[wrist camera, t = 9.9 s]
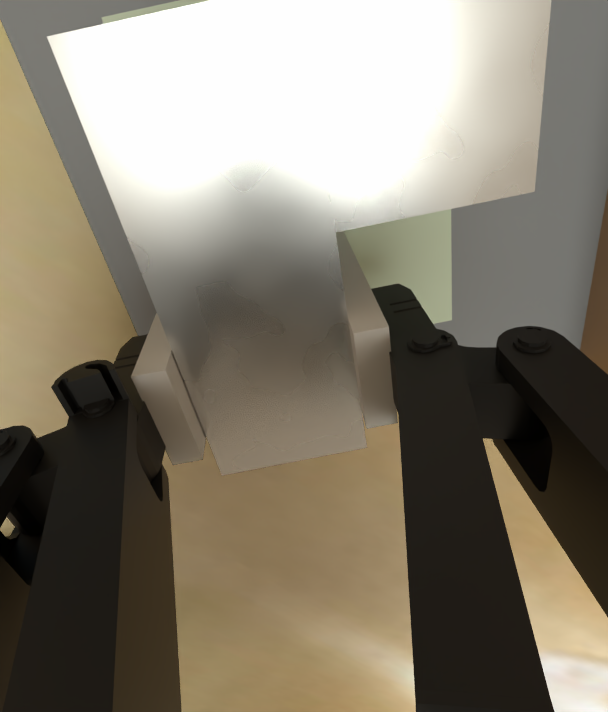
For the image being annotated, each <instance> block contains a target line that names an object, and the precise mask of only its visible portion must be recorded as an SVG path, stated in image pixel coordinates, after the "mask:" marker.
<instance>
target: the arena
mask: <svg viewBox="0 0 608 712" xmlns="http://www.w3.org/2000/svg"><path fill="white" fill-rule="evenodd" d="M206 1H211V0H0V20H1V22H2V24H3V27H4V29H5V31H6V33H7V36H8V38H9V40H10V43H11V45H12V47H13V50H14V52H15V54H16V56H17V59H18V61H19V63H20V66H21V68H22V70H23V72H24V75H25V77H26V79H27V82H28V84H29V86H30V89H31V91H32V93H33V95H34V98H35V100H36V102H37V105H38V107H39V109H40V112H41V114H42V116H43V118H44V121H45V123H46V125H47V128H48V130H49V132H50V135H51V137H52V139H53V141H54V144H55V146H56V148H57V151H58V153H59V155H60V158H61V160H62V162H63V164H64V167H65V169H66V171H67V174H68V176H69V178H70V180H71V183H72V185H73V187H74V190H75V192H76V194H77V197H78V199H79V201H80V203H81V206H82V208H83V210H84V213H85V215H86V217H87V220H88V222H89V224H90V226H91V229H92V231H93V233H94V236H95V238H96V240H97V243H98V245H99V247H100V249H101V252H102V254H103V256H104V259H105V261H106V263H107V266H108V268H109V270H110V272H111V275H112V277H113V279H114V282H115V284H116V286H117V288H118V291H119V293H120V295H121V298H122V300H123V302H124V305H125V307H126V309H127V311H128V314H129V316H130V318H131V321H132V323H133V325H134V328H135V330H136V332H137V334H138V336H142V335H147V334H148V333H149V330H150V328H151V325H152V323H153V320H154V318H155V315H156V313H157V312H156V309H155V307H154V304H153V302H152V299H151V297H150V294H149V292H148V289H147V287H146V284H145V282H144V279H143V277H142V274H141V272H140V269H139V267H138V264H137V262H136V259H135V257H134V254H133V252H132V249H131V247H130V244H129V241H128V239H127V236H126V234H125V231H124V229H123V226H122V224H121V221H120V219H119V216H118V214H117V211H116V209H115V206H114V204H113V201H112V199H111V196H110V194H109V191H108V189H107V186H106V184H105V181H104V179H103V176H102V174H101V171H100V169H99V166H98V164H97V161H96V159H95V156H94V154H93V151H92V149H91V146H90V144H89V141H88V139H87V136H86V134H85V131H84V129H83V126H82V124H81V121H80V119H79V116H78V114H77V111H76V109H75V106H74V104H73V101H72V99H71V96H70V93H69V91H68V88H67V86H66V83H65V81H64V78H63V76H62V73H61V71H60V68H59V66H58V63H57V61H56V58H55V56H54V53H53V51H52V48H51V46H50V43H49V41H48V38H47V36H52V35H56V34H61V33H65V32H70V31H74V30H79V29H84V28H88V27H93V26H97V25H102V24H106V23H111V22H115V21H120V20H124V19H129V18H134V17H138V16H143V15H147V14H152V13H156V12H161V11H165V10H170V9H174V8H179V7H184V6H188V5H193V4H197V3H202V2H206ZM344 233H345V235H346V237H347V240H348V242H349V244H350V246H351V248H352V250H353V252H354V254H355V256H356V258H357V261H358V263H359V265H360V267H361V269H362V271H363V273H364V275H365V277H366V280H367V282H368V284H369V286H370V288H371V289H373V288H378V287H383V286H388V285H393V284H398V283H399V284H401V285H403V286H405V287H407V288H409V289H411V290H412V292H413V293H414V295H415V296H416V298H417V300H418V301H419V303H420V304H421V306H422V308H423V309H424V310H425V312H426V314H427V315H428V317H429V318H430V320H431V321H432V323H433V324H434V326H435V328H436V329H440V330H444V331H446V332H448V333H450V334H452V335H453V336H454V337H455V339H456V340H457V343H458V345H461V346H466V347H496V344H497V340H498V337H499V336H500V335H501V334H502V333H503V332H505V331H506V330H509V329H512V328H515V327H523V326H538V327H543V328H547V329H550V330H554V331H556V332H557V333H559V334H561V335H562V336H564V337H565V338H566V339H567V340H569V341H570V342H571V343H572V344H573V345H574V346H575V347H577V348H578V349H579V350H580V351H581V352H582V353H584V354H585V355H586V356H587V357H588V358H589V359H591V360H592V361H593V362H594V363H595V364H596V365H597V366H599V367H600V368H601V369H602V370H603V371H604V372H606V373H607V374H608V0H551V11H550V23H549V34H548V45H547V57H546V68H545V80H544V91H543V102H542V114H541V125H540V136H539V148H538V159H537V171H536V182H535V192H531V193H526V194H521V195H516V196H512V197H507V198H502V199H497V200H492V201H487V202H482V203H477V204H473V205H468V206H463V207H458V208H453V209H448V210H443V211H438V212H434V213H429V214H424V215H419V216H414V217H409V218H404V219H400V220H395V221H390V222H385V223H380V224H375V225H370V226H365V227H361V228H356V229H351V230H346V231H344Z"/></svg>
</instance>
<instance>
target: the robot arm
mask: <svg viewBox="0 0 608 712" xmlns="http://www.w3.org/2000/svg"><path fill="white" fill-rule="evenodd" d="M336 239H337V246H338V253H339V260H340V266H341V273H342V280H343V287H344V294H345V301H346V307H347V314H348V322H349V329H350V336H351V343H352V350H353V357H354V364H355V371H356V378H357V384H358V391H359V398H360V405H361V411H362V414H363V418H364V421H365V425H366V428H367V429H368V428H373V427H378V426H384V425H389V424H394V423H398V422H397V411H398V414H399V429H400V446H401V462H402V479H403V496H404V513H405V530H406V546H407V563H408V580H409V597H410V614H411V630H412V647H413V664H414V681H415V698H416V712H554V709H553V706H552V702H551V699H550V695H549V691H548V688H547V684H546V680H545V676H544V672H543V668H542V665H541V661H540V657H539V653H538V649H537V645H536V642H535V638H534V634H533V630H532V626H531V622H530V619H529V615H528V611H527V607H526V603H525V599H524V596H523V592H522V588H521V584H520V580H519V576H518V573H517V569H516V565H515V561H514V557H513V553H512V550H511V546H510V542H509V538H508V534H507V530H506V527H505V523H504V519H503V515H502V511H501V507H500V504H499V500H498V496H497V492H496V488H495V484H494V481H493V477H492V473H491V469H490V465H489V461H488V458H487V454H486V450H485V446H484V442H483V438H489V439H493V442H494V444H495V446H496V447H497V449H498V450H499V452H500V453H501V455H502V456H503V458H504V459H505V461H506V462H507V464H508V465H509V467H510V469H511V470H512V472H513V473H514V475H515V476H516V478H517V479H518V481H519V482H520V484H521V485H522V487H523V488H524V490H525V491H526V493H527V495H528V496H529V498H530V499H531V501H532V502H533V504H534V505H535V507H536V508H537V510H538V511H539V513H540V514H541V516H542V517H543V519H544V520H545V522H546V524H547V525H548V527H549V528H550V530H551V531H552V533H553V534H554V536H555V537H556V539H557V540H558V542H559V543H560V545H561V546H562V548H563V549H564V551H565V553H566V554H567V556H568V557H569V559H570V560H571V562H572V563H573V565H574V566H575V568H576V569H577V571H578V572H579V574H580V575H581V577H582V578H583V580H584V582H585V583H586V585H587V586H588V588H589V589H590V591H591V592H592V594H593V595H594V597H595V598H596V600H597V601H598V603H599V604H600V606H601V608H602V609H603V611H604V612H605V614H606V615H607V617H608V374H607V373H606V372H604V371H603V370H602V369H601V368H600V367H599V366H597V365H596V364H595V363H594V362H593V361H592V360H591V359H589V358H588V357H587V356H586V355H585V354H584V353H582V352H581V351H580V350H579V349H578V348H577V347H575V346H574V345H573V344H572V343H571V342H570V341H569V340H567V339H566V338H565V337H564V336H562V335H561V334H559V333H557V332H556V331H554V330H550V329H547V328H543V327H538V326H523V327H515V328H512V329H509V330H506V331H505V332H503V333H502V334H501V335H500V336H499V337H498V340H497V344H496V347H466V346H461V345H458V343H457V340H456V339H455V337H454V336H453V335H452V334H450V333H448V332H446V331H444V330H440V329H436V328H435V326H434V324H433V323H432V321H431V320H430V318H429V317H428V315H427V314H426V312H425V310H424V309H423V308H422V306H421V304H420V303H419V301H418V300H417V298H416V296H415V295H414V293H413V292H412V290H411V289H409V288H407V287H405V286H403V285H401V284H399V283H398V284H393V285H388V286H383V287H378V288H373V289H371V288H370V286H369V284H368V282H367V280H366V277H365V275H364V273H363V271H362V269H361V267H360V265H359V263H358V261H357V258H356V256H355V254H354V252H353V250H352V248H351V246H350V244H349V242H348V240H347V237H346V235H345V233H344V231H341V232H336ZM51 388H52V389H53V391H54V393H55V394H56V396H57V398H58V399H59V401H60V403H61V404H62V406H63V408H64V409H65V411H66V413H67V414H68V416H69V419H68V424H67V426H66V427H64V428H62V429H60V430H57V431H55V432H52V433H50V434H47V435H44V436H42V437H39V438H36V437H35V435H34V434H33V432H32V431H31V429H30V428H28V427H26V426H12V427H9V428H5V429H1V430H0V527H1V525H2V524H3V522H4V520H5V519H6V517H7V518H8V519H9V520H10V521H11V522H12V524H13V525H14V526H15V528H14V530H13V532H12V534H11V535H10V536H9V537H8V538H7V537H5V536H4V535H3V533H2V532H1V531H0V712H181V695H180V677H179V659H178V641H177V624H176V606H175V588H174V571H173V553H172V535H171V518H170V500H169V482H168V476H167V473H166V471H165V469H164V467H163V465H162V460H163V456H164V452H165V450H166V452H167V454H168V456H169V458H170V460H171V463H172V465H177V464H182V463H187V462H193V461H198V460H203V455H204V448H205V441H206V435H205V432H204V430H203V427H202V425H201V422H200V420H199V417H198V415H197V412H196V410H195V407H194V405H193V402H192V400H191V397H190V395H189V392H188V390H187V387H186V384H185V382H184V379H183V377H182V374H181V372H180V369H179V367H178V364H177V362H176V359H175V357H174V354H173V352H172V349H171V347H170V344H169V342H168V339H167V337H166V334H165V332H164V329H163V327H162V324H161V322H160V319H159V317H158V314H157V313H156V315H155V318H154V320H153V323H152V325H151V328H150V330H149V333H148V334H147V335H142V336H136V337H132V338H131V339H130V340H129V341H128V342H127V343H126V344H125V345H124V346H123V347H122V348H121V349H120V351H119V353H118V356H117V358H116V361H115V362H114V364H113V363H111V362H109V361H107V360H95V361H91V362H86V363H83V364H81V365H78V366H76V367H74V368H72V369H70V370H68V371H67V372H65V373H64V374H62V375H61V376H60V377H59V378H58V379H57V380H56V381H55V382H54V384H53V386H52V387H51ZM396 409H397V411H396Z"/></svg>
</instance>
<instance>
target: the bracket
mask: <svg viewBox="0 0 608 712" xmlns="http://www.w3.org/2000/svg"><path fill="white" fill-rule="evenodd" d="M550 11H551V0H211V1H206V2H202V3H197V4H193V5H188V6H184V7H179V8H174V9H170V10H165V11H161V12H156V13H152V14H147V15H143V16H138V17H134V18H129V19H124V20H120V21H115V22H111V23H106V24H102V25H97V26H93V27H88V28H84V29H79V30H74V31H70V32H65V33H61V34H56V35H52V36H47V38H48V41H49V43H50V46H51V48H52V51H53V53H54V56H55V58H56V61H57V63H58V66H59V68H60V71H61V73H62V76H63V78H64V81H65V83H66V86H67V88H68V91H69V93H70V96H71V99H72V101H73V104H74V106H75V109H76V111H77V114H78V116H79V119H80V121H81V124H82V126H83V129H84V131H85V134H86V136H87V139H88V141H89V144H90V146H91V149H92V151H93V154H94V156H95V159H96V161H97V164H98V166H99V169H100V171H101V174H102V176H103V179H104V181H105V184H106V186H107V189H108V191H109V194H110V196H111V199H112V201H113V204H114V206H115V209H116V211H117V214H118V216H119V219H120V221H121V224H122V226H123V229H124V231H125V234H126V236H127V239H128V241H129V244H130V247H131V249H132V252H133V254H134V257H135V259H136V262H137V264H138V267H139V269H140V272H141V274H142V277H143V279H144V282H145V284H146V287H147V289H148V292H149V294H150V297H151V299H152V302H153V304H154V307H155V309H156V312H157V314H158V317H159V319H160V322H161V324H162V327H163V329H164V332H165V334H166V337H167V339H168V342H169V344H170V347H171V349H172V352H173V354H174V357H175V359H176V362H177V364H178V367H179V369H180V372H181V374H182V377H183V379H184V382H185V384H186V387H187V390H188V392H189V395H190V397H191V400H192V402H193V405H194V407H195V410H196V412H197V415H198V417H199V420H200V422H201V425H202V427H203V430H204V432H205V435H206V437H207V440H208V442H209V445H210V447H211V450H212V452H213V455H214V457H215V460H216V462H217V465H218V467H219V470H220V472H221V475H222V476H223V475H228V474H233V473H239V472H244V471H249V470H254V469H259V468H265V467H270V466H275V465H280V464H285V463H290V462H296V461H301V460H306V459H311V458H316V457H322V456H327V455H332V454H337V453H342V452H348V451H353V450H358V449H363V448H367V444H366V437H365V430H364V424H363V417H362V411H361V405H360V398H359V391H358V384H357V378H356V371H355V364H354V357H353V350H352V343H351V336H350V329H349V322H348V314H347V307H346V301H345V294H344V287H343V280H342V273H341V266H340V260H339V253H338V246H337V239H336V232H341V231H346V230H351V229H356V228H361V227H365V226H370V225H375V224H380V223H385V222H390V221H395V220H400V219H404V218H409V217H414V216H419V215H424V214H429V213H434V212H438V211H443V210H448V209H453V208H458V207H463V206H468V205H473V204H477V203H482V202H487V201H492V200H497V199H502V198H507V197H512V196H516V195H521V194H526V193H531V192H535V182H536V171H537V159H538V148H539V136H540V125H541V114H542V102H543V91H544V80H545V68H546V57H547V45H548V34H549V23H550Z"/></svg>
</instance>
